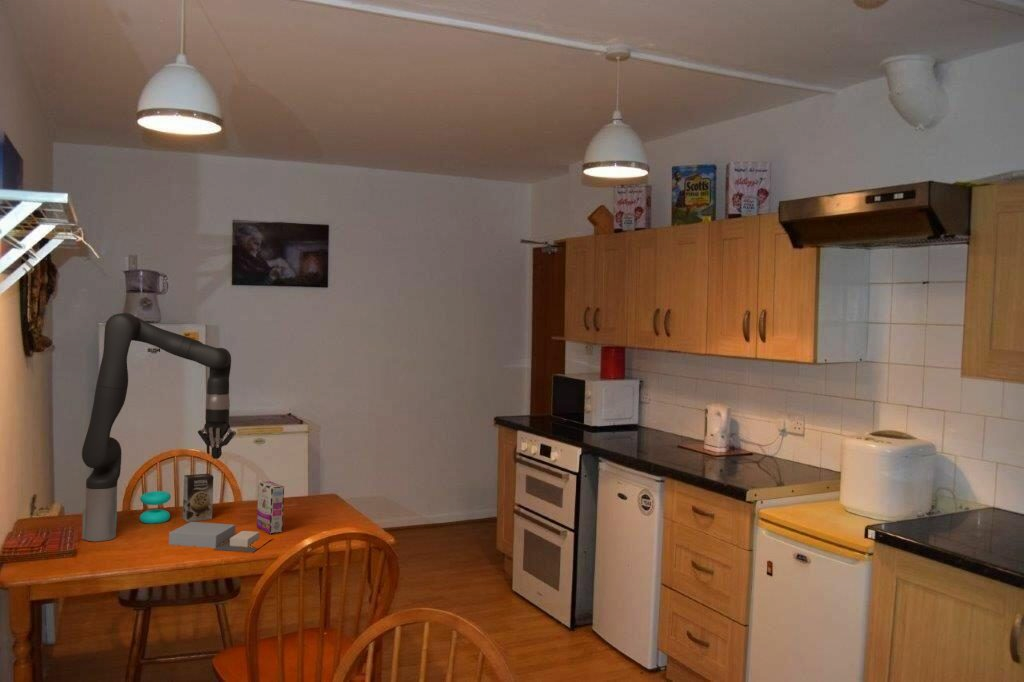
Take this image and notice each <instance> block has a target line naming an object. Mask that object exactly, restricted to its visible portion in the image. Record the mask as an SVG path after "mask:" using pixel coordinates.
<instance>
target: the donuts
mask: <svg viewBox="0 0 1024 682" xmlns="http://www.w3.org/2000/svg"><path fill="white" fill-rule="evenodd" d="M171 497H172V496H171V494H170V492H167V491H161V490H155V491H154V490H153V491H147V492H143V494H141V495H140V498H139V499H140V502H141V503H142V504H145V505H148V506H159V505H163V504H166V503H168V502H169V501H170V500H171ZM170 518H171V514H170V512H169V511H167V510H165V509H158V508H156V509H149V510H145V511H144V512H142V513H141V514H140V515H139V520H140V521H141V522H142V523H144V524H161V523H165V522H168V521H169V520H170Z"/></svg>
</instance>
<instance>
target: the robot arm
mask: <svg viewBox="0 0 1024 682" xmlns="http://www.w3.org/2000/svg"><path fill="white" fill-rule="evenodd" d="M103 334H104V335H103V337H104V338H103V339H104V340H103V353H102V359H101V362H100V366H99V370H98V371H99V372H98V375H97V379H96V380H97V381H96V385H95V391H94V397H93V398H94V399H93V404H92V409H91V414H90V419H89V424H88V428H87V432H86V434H85V438H84V442H83V444H82V450H81V459H82V462H83V464H84V465H85V466H86V467H88V468H91V469H92V472H91V474H90V475H89V476H88V477H87V478H86V480H85V509H83V510H82V523H81V524H82V525H81V526H82V529H81V539H82V540H85V541H87V542H88V541H89V542H106V541H109V540H113V539H115V538H116V537H117V518H118V517H117V513H118V511H117V510H118V481H119V479H120V477H121V476H120V475H121V469H122V446H121V444H120V442H119V441H118V440H117V439H116V438H115V437H111V431H112V428H113V425H114V423H115V421H116V419H117V418H118V416H119V414H120V412H121V411H122V408H123V406H124V405H125V401H126V399H127V392H128V387H129V370H128V354H129V350H130V346H131V342H132V341H135V342H139V343H140V342H141V343H145V344H149V345H151V346H154V347H156V348H159V349H161V350H163V351H165V352H167V353H169V354H171V355H174V356H177V357H179V358H182V359H185V360H189V361H193V362H195V363H198V364H200V365H202V366H204V367H206V368H209V376H208V378H207V384H206V398H205V416H204V417H205V418H204V419H205V424H204V425H203V428H201V429H200V430H199V429H198V431H197V434H198V435H199V437H200V438H201V439H202V440H203V442H204V444H205V445H206V446H209V447H210V448H211V449H210V450H211V454H210V455H211V457H212V459H213V460H218V459H220V457H221V456H222V448H223V447H224V446H227V445H228V444H229V443H230V442H231V441H232V440H233V438H234V437H235V436H236V434H237V431H236V430H232V428H231V426H230V423H229V422H230V407H231V404H230V374H231V367H232V355H231V353H230V351H229V350H228V349H226V348H224V347H215V346H212V345H209V344H208V345H207V344H206V343H203V342H201V341H199V340H197V339H195V338H192V337H189V336H185V335H182V334H179V333H175V332H173V331H171V330H170V331H169V330H166V329H163V328H160V327H159V326H155V325H153V324H151V323H149V322H147V321H145V320H143V319H141V318H139V317H138V316H136V315H134V314H131V313H129V312H122V313H117V314H113V315H112V316H110V317H109V318H108V319H107V320H106V322H105V325H104V333H103ZM225 435H226V437H225Z"/></svg>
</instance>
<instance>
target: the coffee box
mask: <svg viewBox="0 0 1024 682" xmlns="http://www.w3.org/2000/svg"><path fill="white" fill-rule="evenodd" d="M182 497H183V500H182V519H183V520H184V521H185V522H187V523H189V522H200V521H207V520H209V519H210V520H212V519H213V503H214V501H213V500H214V499H213V498H214V475H213V474H210V473H199V474H195V473H194V474H186V475H183V496H182Z"/></svg>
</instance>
